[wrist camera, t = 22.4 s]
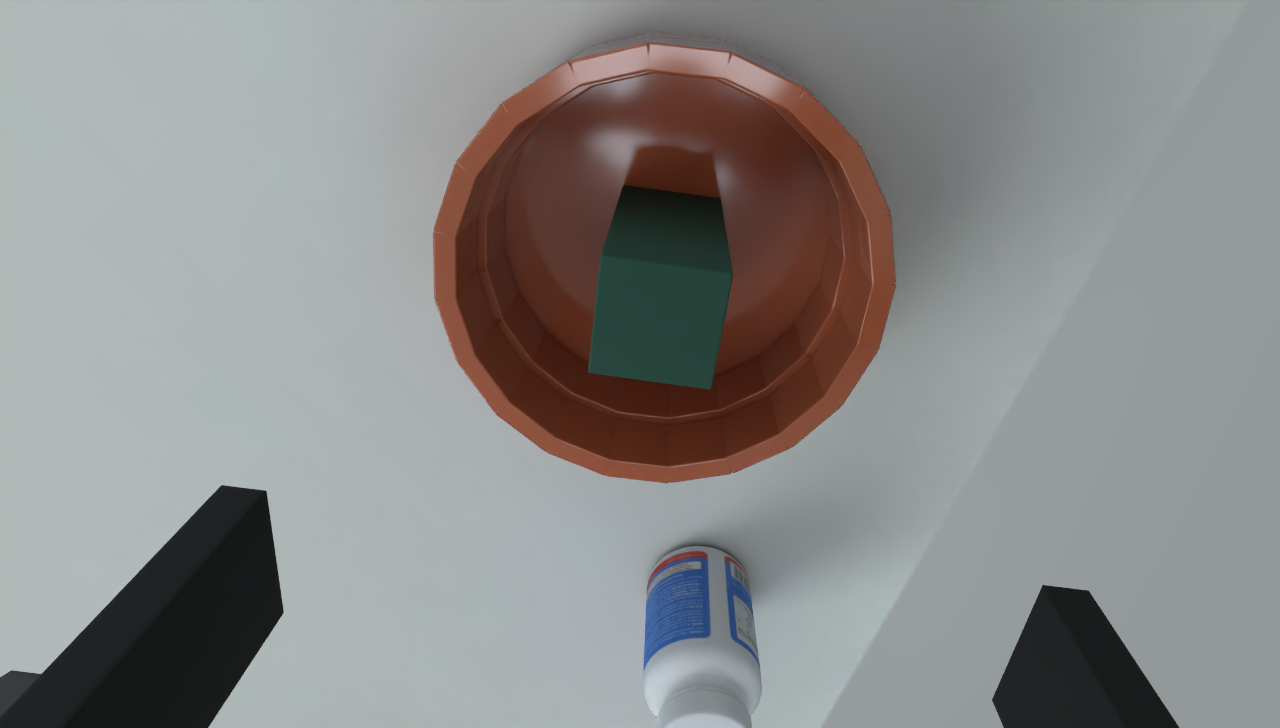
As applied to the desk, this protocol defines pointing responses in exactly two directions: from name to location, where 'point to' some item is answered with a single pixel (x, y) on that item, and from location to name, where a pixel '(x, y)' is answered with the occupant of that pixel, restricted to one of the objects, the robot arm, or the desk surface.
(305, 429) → the desk surface
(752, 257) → the bowl
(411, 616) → the desk surface
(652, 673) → the pill bottle
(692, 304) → the green block
